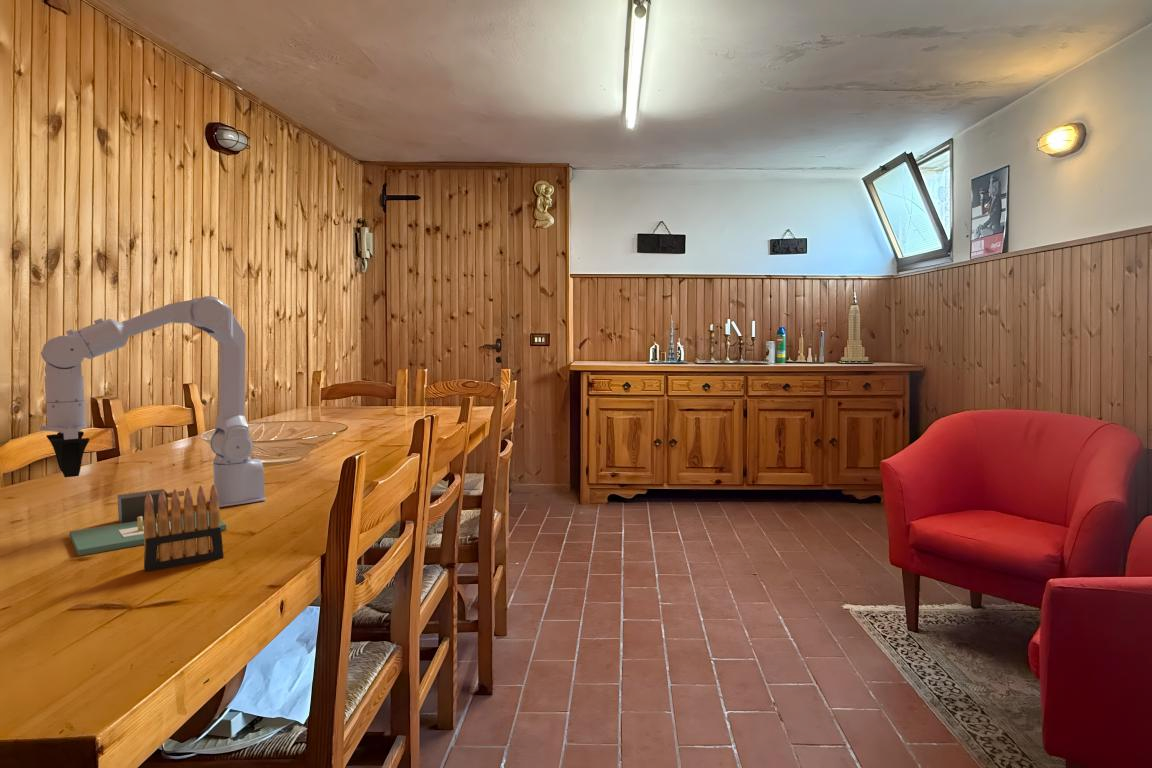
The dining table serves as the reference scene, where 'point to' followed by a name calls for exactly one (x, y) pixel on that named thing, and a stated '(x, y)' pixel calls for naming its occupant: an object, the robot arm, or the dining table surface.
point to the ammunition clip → (181, 531)
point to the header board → (113, 536)
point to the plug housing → (139, 504)
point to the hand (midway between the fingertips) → (69, 473)
